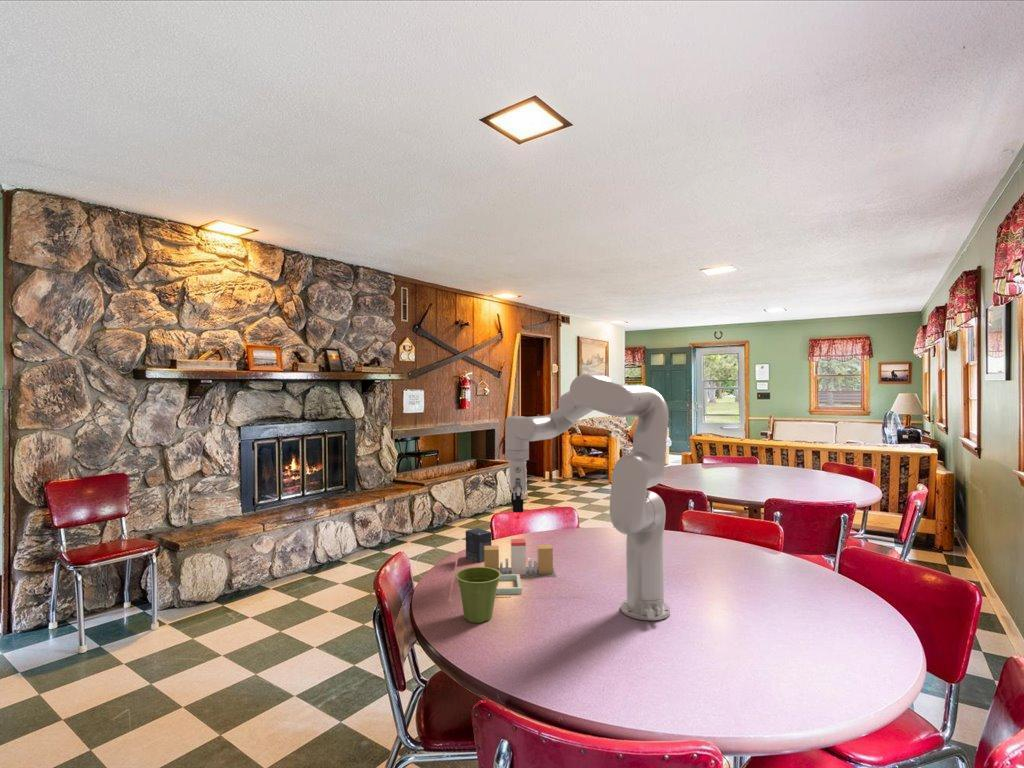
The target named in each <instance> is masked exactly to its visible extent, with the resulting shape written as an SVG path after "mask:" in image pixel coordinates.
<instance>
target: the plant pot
mask: <svg viewBox="0 0 1024 768" xmlns="http://www.w3.org/2000/svg"><path fill="white" fill-rule="evenodd" d="M500 577H501V573H500V571H498V570H496V569H493V568H489V567H484V566H471V567H466V568H462V569H459V570H458V571H457V572H456V573H455V578H456V579H457V583H458V588H459V591H460V598H461V603H462V605H461V606H462V611H463V618H464V619H465V620H467V621H468V622H470V623H475V624H479V623H484V622H485V621H488V622H489V621H490V620H491V619H492V617H493V612H494V606H495V600H496V598H495V597H496V595H497V594H496V589H497V588H498V586H499V578H500Z"/></svg>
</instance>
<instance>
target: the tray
mask: <svg viewBox="0 0 1024 768" xmlns="http://www.w3.org/2000/svg"><path fill="white" fill-rule="evenodd" d="M499 581H501V582H502V581H504V582H505V581H516V586H513V587H512V586H511V587H510V586H509V587H508V586H507V587H497V589H496V595H522V594H523V588H522V583H521V582H522V581H521V578H520V574H501V577H500V578H499ZM499 581H498V582H499ZM499 598H500V599H503V598H507V599H508V598H510V596H495V599H499Z"/></svg>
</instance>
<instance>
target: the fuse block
mask: <svg viewBox="0 0 1024 768" xmlns="http://www.w3.org/2000/svg"><path fill="white" fill-rule="evenodd" d="M499 547H500V546H499V545H491V546H484V562H483V563H484V566H483V567H489V568H493V569H496V570H498V571H500V573H501V574H512V573H511V566H509V558H505V567H504V566H503V565H504V564H503V561H500V555H499V554H500V551H499ZM553 551H554V549H553V546H552V544H549V543H548V544H544V543H543V544H537V545H536V554H537V555H536V558H537V559H536V560H533V566H532V558H531V557H528V558H527V563H528V564H527V565H528V566H526V575H520V579H529V578H530V579H533V578H557V575H556V572H555V569H554V565H553V564H554V561H553V559H554V556H553V555H554V553H553Z"/></svg>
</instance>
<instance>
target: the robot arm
mask: <svg viewBox="0 0 1024 768" xmlns="http://www.w3.org/2000/svg"><path fill="white" fill-rule="evenodd" d="M668 408H669V407H668V404H667V402H666V400H665V398H664V397H663V396H662V394H660V392H659V391H657V390H656V389H654V388H652V387H650V386H648V385H644V384H619V383H615V382H613V380H612V379H611V378H610V377H609V376H607V375H604V374H597V373H582V374H580V375H577V376H576V377H575V378H574V379H572V381H571V383H570V386H569V390H568V391H566V392H565V393H564V394H561V396H560V397H559V399H558V408H557V409H556V410H554V411H553V412H551V413H549V414H546V415H536V416H523V415H522V416H521V415H514V416H508V417H506V419H505V425H504V428H505V429H504V430H505V431H504V432H505V436H504V437H505V439H504V440H505V446H504V449H505V450H504V451H505V454H504V455H505V457H504V458H505V459H504V460H506V461H508V469H509V470H508V474H509V486H510V490H511V506H512V513H523V512H524V499H523V495H524V494H523V491H524V493H526V492H527V491H528V490H527V489H528V488H527V462H526V461H529V460H530V442H537V441H544V440H551V439H554V438H556V437H558V436H559V435H561V434H563V433H565V432H567V431H568V430H569V429H571V428H572V427H573V426H574V425H575V424H576V423H577V422H578V420H581V419H582V418H583V417H584V416H586V415H588V414H589V413H592V412H593V411H596V412H599V413H603V414H605V415H608V416H612V417H614V418H615V417H617V418H629V417H637V424H636V426H635V428H634V431H633V437H632V438H633V442H632V449H631V450H632V451H631V453H628V454H625V455H622V456H620V458H618V460H617V461H616V463H615V464H614V467H613V470H612V475H611V485H610V497H609V517H610V519H609V520H610V521H611V524H612V526H613V527H614V528H615V530H617V532H619V533H621V534H622V535H626V542H625V543H626V544H625V547H626V550H625V553H626V554H625V555H626V557H625V558H626V559H625V561H626V566H625V567H626V569H625V570H626V599H625V600H624V601H622V602H621V604H620V609H621V612H622V613H623V614H624V615H626V616H627V617H630V618H631V619H635V620H640V621H650V622H651V621H661V620H664V619H666V618H668V617H669V616H670V615H671V608H670V606H669V605H668V604H667V603H665V595H664V591H665V585H664V532H665V526H666V525H665V524H666V517H667V516H666V515H667V512H666V505H665V503H664V500H663V499H662V497H661V496H660V495H659V494H658V493H656V492H654V491H651V490H648V489H649V488H652V487H654V486H657V485H658V484H660V483H661V482H662V481H663V479H664V475H665V470H666V469H665V467H666V455H667V454H666V453H667V439H668V438H667V437H668V429H669V414H670V413H669V409H668Z"/></svg>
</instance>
